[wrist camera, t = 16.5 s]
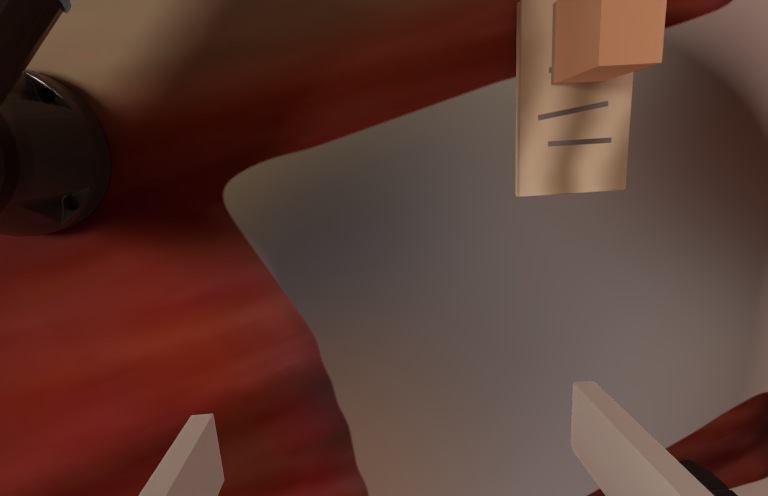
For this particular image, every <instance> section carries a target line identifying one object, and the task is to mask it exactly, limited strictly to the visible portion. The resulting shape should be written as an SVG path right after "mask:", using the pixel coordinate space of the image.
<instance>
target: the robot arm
mask: <svg viewBox="0 0 768 496" xmlns="http://www.w3.org/2000/svg"><path fill="white" fill-rule="evenodd" d="M70 8H71V3H70V0H0V234H3V235H10V236H38V235H44V234H48V233H52V232H57V231H61V230H64V229H67V228H70V227H72V226H74V225H76V224H78V223H80V222H81V221H83V220H84V219H86V218H87V217H88V216H89V215H90V214H91V213H92V212H93V211H94V210H95V209H96V208H97V206H98V205H99V204H100V202H101V201H102V199H103V197H104V195H105V193H106V190H107V187H108V184H109V180H110V173H111V158H110V150H109V146H108V142H107V139H106V136H105V133H104V131H103V129H102V127H101V125H100V123H99V121H98V119H97V118H96V116H95V115H94V113H93V112H92V111H91V109H90V108H89V107H88V106H87V104H86V103H85V102H84V101H83V100H82V99H81V98H80V97H79V96H78V95H76V94H75V93H74V92H73V91H72V90H70V89H69V88H68V87H66V86H65V85H63V84H61V83H60V82H58V81H56V80H54V79H52V78H50V77H48V76H45V75H43V74H40V73H36V72H33V71H29V70H25V69H26V67H27V66H28V64H29V63H30V61H31V60H32V58H33V57H34V55H35V54H36V52H37V50H38V49H39V47H40V46H41V44H42V43H43V41H44V40H45V38H46V37H47V35H48V34H49V32H50V31H51V29H52V28H53V26H54V24H55V23H56V21H57V20H58V18H59V17H60V15H61V14H62V12H65V13H68V11H69V10H70ZM571 449H572V450H573V452H574V453H575V454H576V456H577V457H578V458H579V460H580V461H581V462H582V464H583V465H584V467H585V468H586V469H587V471H588V472H589V474H590V475H591V476H592V478H593V479H594V480H595V482H596V483H597V484H598V486H599V487H600V489H601V490H602V491H603V493H604V494H605V496H737V495H736V494H735V493H734V492H733V491H732V490H729V489H728V487H727V486H726V485H725V484H724V483H723V482H722V481H721V480H720V479H718V478H717V477H716V476H715V475H714V474H713V473H712V472H710V471H708V470H707V469H705V468H703V467H702V466H700V465H698V464H696V463H695V462H693V461H691V460H683V461H677V460H676V459H675V458H674V457H673V456H672V455H671V454H670V453H669V452H668V451H667V450H666V449H665V448H663V447H662V446H661V445H660V444H659V443H658V442H657V441H656V440H655V439H654V438H653V437H652V436H651V435H650V434H649V433H648V432H647V431H646V430H645V429H643V427H642V426H640V425H639V424H638V423H637V422H636V421H635V420H634V419H633V418H632V417H631V416H630V415H629V414H628V413H627V412H626V411H625V410H624V409H623V408H622V407H621V406H619V405H618V404H617V403H616V402H615V401H614V400H613V399H612V398H611V397H610V396H609V395H608V394H607V393H606V392H605V391H604V390H603V389H602V388H600V387H599V386H598V385H597V384H596V383H595V382H594V381H585V382H574V383H573V401H572V424H571ZM223 482H224V475H223V469H222V463H221V457H220V451H219V445H218V439H217V434H216V428H215V422H214V416H213V414H203V415H191V417H190V418H189V420H188V421H187V423H186V424H185V426H184V427H183V429H182V430H181V432H180V433H179V435H178V436H177V438H176V439H175V441H174V443H173V444H172V446H171V447H170V449H169V450H168V452H167V453H166V455H165V456H164V458H163V459H162V461H161V462H160V464H159V465H158V467H157V468H156V470H155V471H154V473H153V474H152V476H151V477H150V479H149V481H148V482H147V484H146V485H145V487H144V488H143V490H142V491H141V493H140V494H139V496H218V493H219V491H220V489H221V486H222V484H223Z"/></svg>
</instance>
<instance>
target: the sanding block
mask: <svg viewBox="0 0 768 496" xmlns="http://www.w3.org/2000/svg"><path fill="white" fill-rule="evenodd" d="M666 4H667V0H557V1H556V2H555V3H553V25H552V66H551V85H556V84H573V83H591V82H603V81H606V80H610V79H613V78H616V77H619V76H622V75H625V74H628V73H631V72H634V71H638V70H640V69H644V68H647V67H650V66H653V65H656V64H659V63H662V55H663V42H664V30H665V17H666Z"/></svg>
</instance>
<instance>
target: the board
mask: <svg viewBox="0 0 768 496" xmlns="http://www.w3.org/2000/svg"><path fill="white" fill-rule="evenodd" d="M556 1H557V0H520V1H519V2H518V3H517V33H516V149H515V150H516V152H515V155H516V156H515V196H518V197H525V196H539V195H555V194H570V193H585V192H600V191H615V190H626V179H627V178H626V177H627V163H628V149H629V148H628V147H629V133H630V117H631V103H632V88H633V72H631V73H628V74H625V75H622V76H619V77H616V78H613V79H610V80H606V81H603V82H591V83H573V84H556V85H551V66H552V25H553V3H555V2H556Z"/></svg>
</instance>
